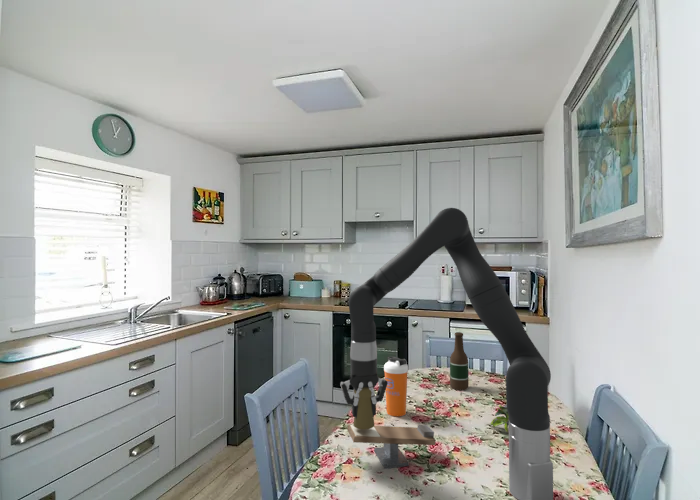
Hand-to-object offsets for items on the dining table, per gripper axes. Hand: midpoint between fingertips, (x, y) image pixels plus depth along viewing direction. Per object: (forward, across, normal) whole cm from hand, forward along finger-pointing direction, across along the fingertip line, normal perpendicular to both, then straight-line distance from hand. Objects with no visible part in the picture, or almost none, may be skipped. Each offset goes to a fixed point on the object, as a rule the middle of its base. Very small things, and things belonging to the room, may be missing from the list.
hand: (364, 416), depth 114 cm
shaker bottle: (+13, +20, +31) cm, 39 cm away
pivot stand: (+13, +8, 0) cm, 15 cm away
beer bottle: (+13, +56, +51) cm, 77 cm away
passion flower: (+13, +52, +7) cm, 54 cm away
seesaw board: (+7, +8, 0) cm, 10 cm away
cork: (+2, 0, 0) cm, 2 cm away
